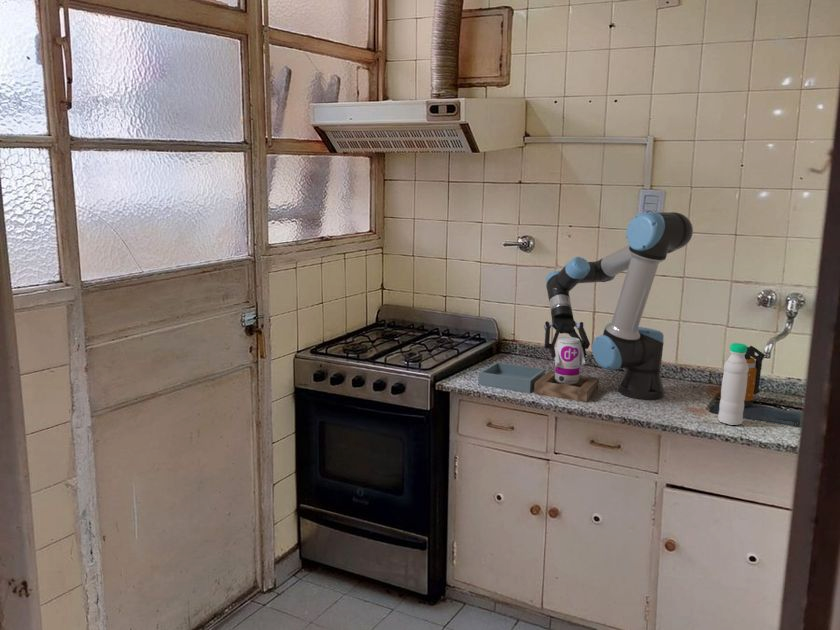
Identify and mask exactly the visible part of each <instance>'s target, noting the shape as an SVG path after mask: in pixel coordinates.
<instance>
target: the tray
mask: <svg viewBox="0 0 840 630" xmlns="http://www.w3.org/2000/svg"><path fill="white" fill-rule="evenodd" d="M546 370H547V369H546V368H541V367H534V366H528V365H527V366H526V365H521V364H513V363H507V362H499V361H496V362H494V363H491V364H490V365H488V366H487V367H485V368H484V369H482V370H480V371H479V372H478V376H477V377H478V380H477V381H478V382H477V385H478V384H481V385H480V386H482V385H484V386H483V387H489V388H495V389H500V390H501V389H502V390H506V391H507V390H508V391H512V392H513V391H515V392H518V393H519V392H520V393H528V394H530V393H532V392H534V386H535V382H536V381H537V380H539V379H540V378H541V377H543V376H544V375H545V374H546V373H547V372H546Z"/></svg>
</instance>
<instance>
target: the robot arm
mask: <svg viewBox="0 0 840 630" xmlns="http://www.w3.org/2000/svg"><path fill="white" fill-rule="evenodd" d="M693 232H694V229H693V224H692V222H691V220H690V219H689V218H688V217H687V216H686V215H684V214H683V213H680V212H674V211H673V212H664V211H663V212H658V211H657V212H656V211H648V212H642V213H639V214H637V215H635V216H634V217H633V218H631V220H630V222H629V223H628V225H627V227H626V233H625V238H627V240H626V241H627V244H628V245H625V246H624V247H622V248H620V249H617V250H616V251H613V252H612V253H610V254H607V255H606V256H605V257H603V258H600V259H598V260H595V261H587V259H585V258H584V257H581V256H575V257H573V258H572V259H571V260H569V261H568V262H567V263H566V265H564V267H563V268H562V269H561V270H559V271H558V270H556V271H552V272H549V274H547V276H546V278H545V287H546V291H547V296H548V303H549V309H550V316H551V322H549V321H545V323H544V325H543V328H544V330H545V333H544V346H543V347H544V349H545V350H546V349H548V350H549V351H550V356H551V358H554V364H555V366H556V367H558V365H559V363H560V362H559V356H558V350H557V346H556V344H557V341H558V339H559V338H558V337H559V335H560V334H567V335H568V336H569V337H574V338H578V339H580V342H581V357H580V368H584V367H585V365H586V359H585V358H586V356H587V350H588V349H589V348H590V345H591V352H592V355H593V358H594V360H595V362H596V364H597V365H598V366H599V367H601V368H602V369H604V370H607V371H608V370H614V371H617V370H618V369H624V368H625V370H624V372H623V375H622V376H621V379H620V381H619V383H618V393H619V394H621V395H623V396H625V397H630V398H633V399H637V400H639V399H640V400H659V399H662V398H663V397H664V392H665V390H664V389H665V388H664V384H663V380H662V375H661V368H662V359H663V349H664V344H665V343H664V333H663V332H662V331H660V330H657V329H653V328H649V327H644V326H643V327H642V326H640V323H641V319H642V316H643V313H644V312H645V311H644V310H645V308H646V304H647V301H648V298H649V295H650V291H651V288H652V286H653V283H654V279H655V277H656V273H657V270H658V267H659V264H660V263H662V262H664V261H666V258H667V256H668V254H671V253H673V252H675V251H677V250H680V249H681V248H684V247H685V246H687V245H688V244H689V242H690V241H691V239H692V237H693ZM625 271H626V274H625V277H624V281H623V284H622V287H621V290H620V293H619V297H618V300H617V304H616V307H615V309H614V313H613V316H612V319H611V322H609V323H606V325H605V327H604V330H603V333H602V334H601V335H598V336H596V337H595V338H594V340H593V341H592V344H591V343H590V341H589V338H588V335H587V333H586V330H585V328H584V322H583V321H580V322H577V321H575V319H574V313H573V309H572V303H571V296H570V291H572V290H573V289H574V288H575V287H576V286H577V285H578V284H587V283H589V284H590V283H591V284H592V283H607V282H611V281H613V280H614V279H615V277H616V276H617V275H619V274H620V273H623V272H625ZM575 327H576V328H575ZM551 328H553V329H554V330H555V334H554V335H553V337H552V341H551V343H550V340H551V338H550V337H551ZM576 329H577V330H578V332H577V331H576ZM578 333H579V334H578ZM661 397H662V398H661ZM658 398H659V399H658Z"/></svg>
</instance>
